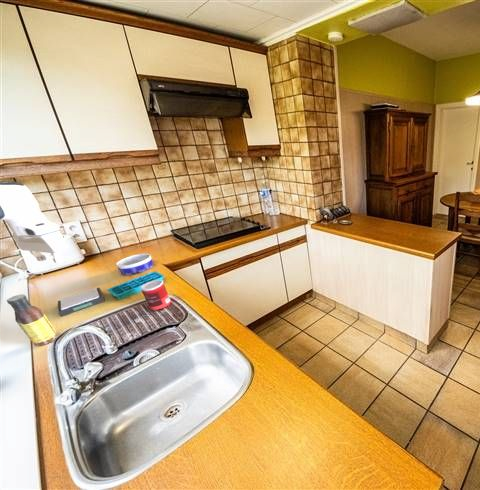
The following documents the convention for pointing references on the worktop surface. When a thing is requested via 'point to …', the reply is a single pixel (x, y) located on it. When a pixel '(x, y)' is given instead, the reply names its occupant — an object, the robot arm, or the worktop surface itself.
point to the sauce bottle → (32, 321)
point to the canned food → (156, 295)
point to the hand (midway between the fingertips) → (50, 261)
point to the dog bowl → (135, 264)
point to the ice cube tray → (134, 285)
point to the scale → (80, 301)
